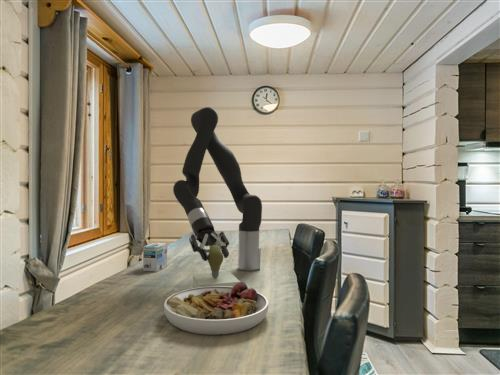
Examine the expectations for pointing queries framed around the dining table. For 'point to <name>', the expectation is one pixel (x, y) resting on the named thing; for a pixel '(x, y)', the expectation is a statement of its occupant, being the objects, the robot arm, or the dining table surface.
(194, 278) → the block
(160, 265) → the light bulb box
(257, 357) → the dining table surface
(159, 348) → the dining table surface
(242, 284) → the bowl
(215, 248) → the plant pot
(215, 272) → the light bulb
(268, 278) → the dining table surface
